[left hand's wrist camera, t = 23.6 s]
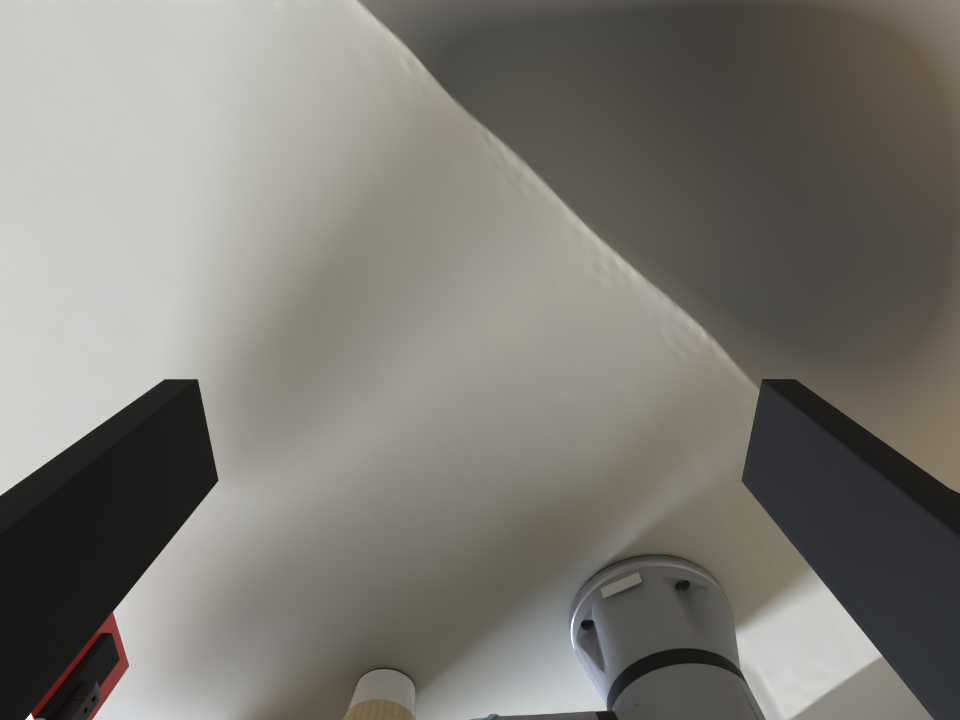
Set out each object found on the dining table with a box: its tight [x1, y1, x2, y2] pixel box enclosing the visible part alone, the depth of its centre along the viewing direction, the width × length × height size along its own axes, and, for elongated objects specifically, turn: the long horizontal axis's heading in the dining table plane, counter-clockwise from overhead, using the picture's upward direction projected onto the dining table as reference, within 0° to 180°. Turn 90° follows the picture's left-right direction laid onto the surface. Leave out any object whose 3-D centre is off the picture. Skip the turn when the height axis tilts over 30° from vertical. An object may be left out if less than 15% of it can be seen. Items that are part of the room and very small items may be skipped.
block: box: [26, 612, 129, 720], centre depth 38 cm, size 6×8×8 cm
